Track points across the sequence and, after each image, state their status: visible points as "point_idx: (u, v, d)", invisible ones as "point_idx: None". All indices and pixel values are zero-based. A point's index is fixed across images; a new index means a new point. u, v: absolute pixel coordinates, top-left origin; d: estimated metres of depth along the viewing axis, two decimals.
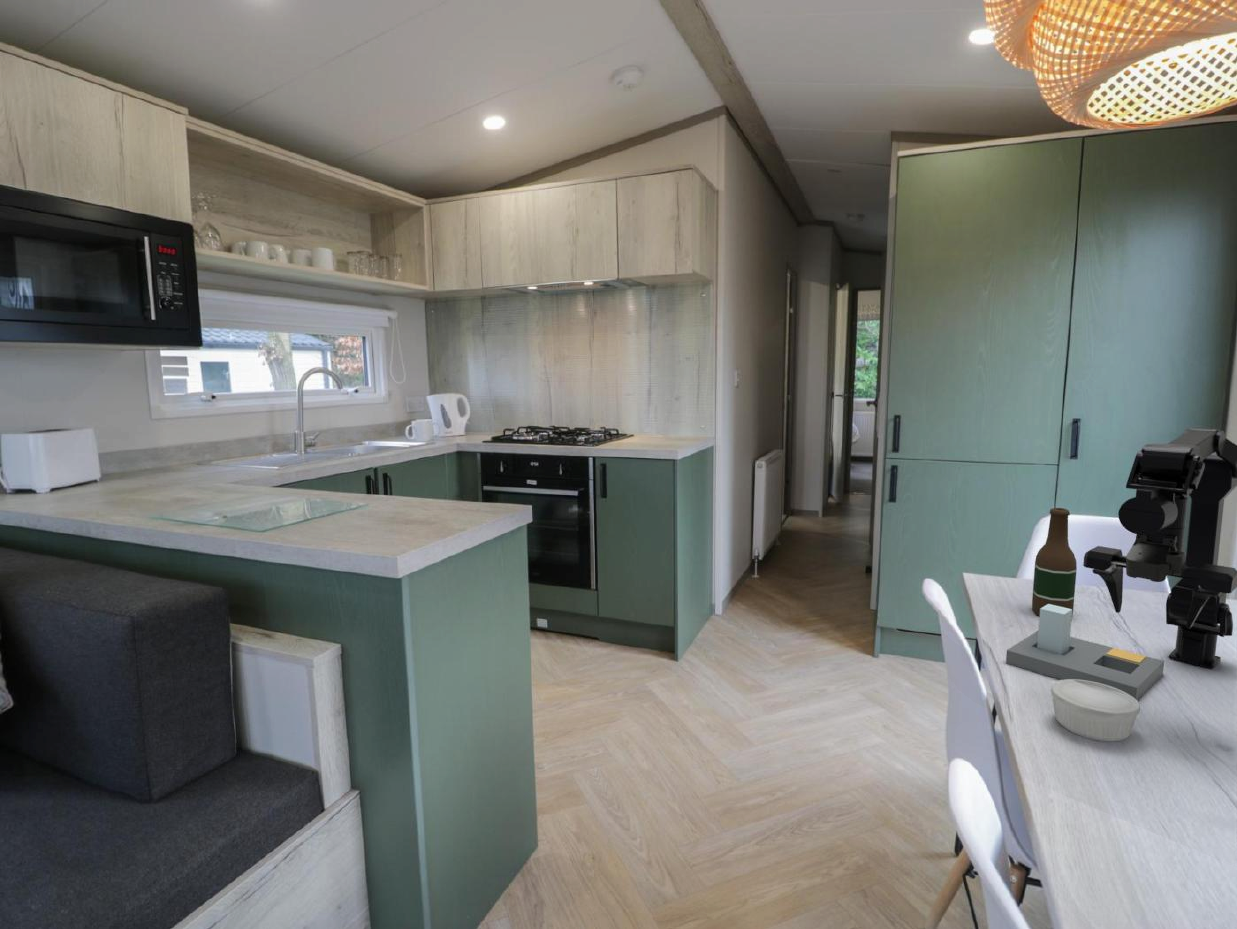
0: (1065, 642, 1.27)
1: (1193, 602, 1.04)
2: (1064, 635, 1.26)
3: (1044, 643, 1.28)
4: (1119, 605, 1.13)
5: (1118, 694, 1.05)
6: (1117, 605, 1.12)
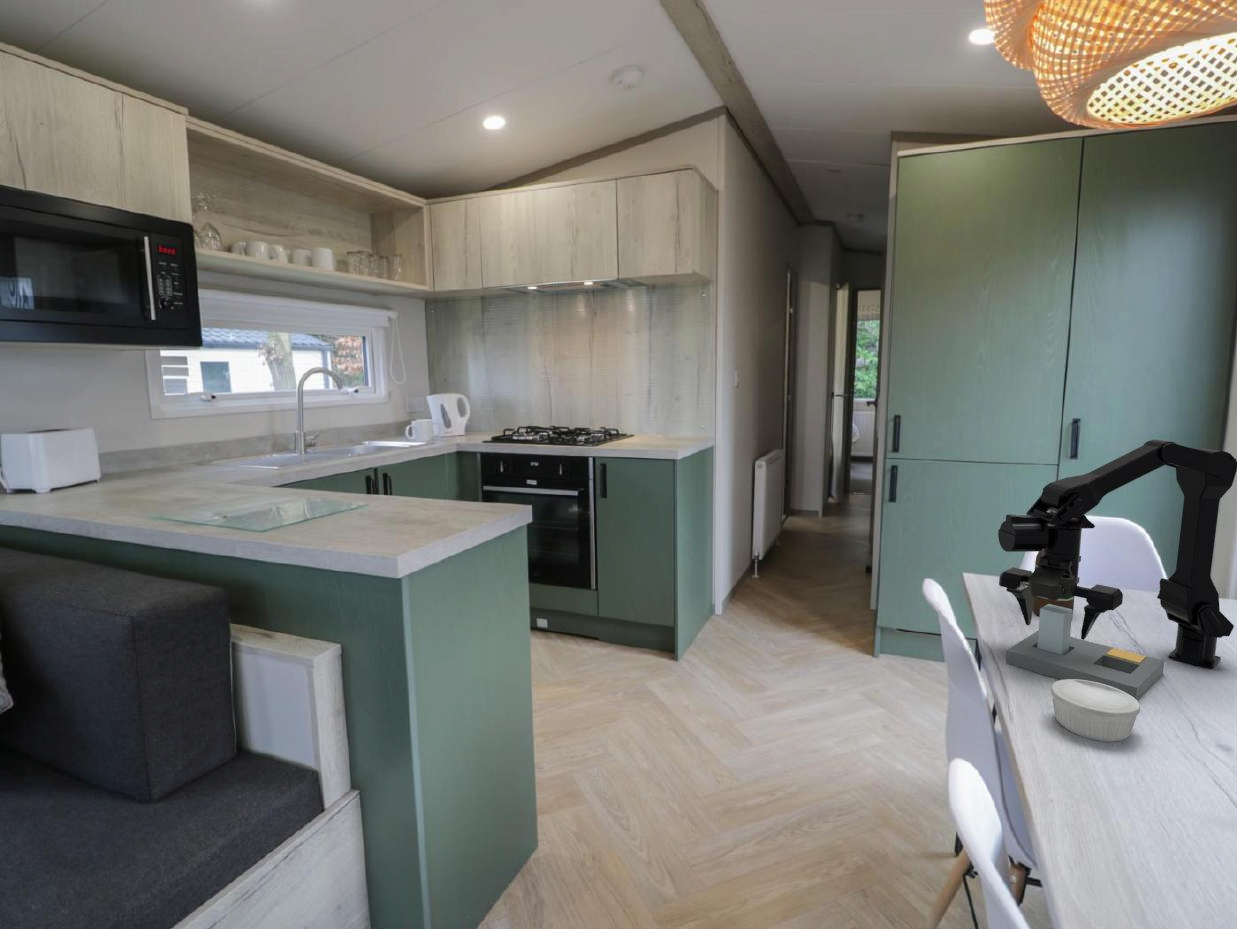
0: (1065, 642, 1.27)
1: (1085, 617, 1.23)
2: (1064, 635, 1.26)
3: (1044, 643, 1.28)
4: (1029, 619, 1.31)
5: (1118, 694, 1.05)
6: (1027, 619, 1.31)
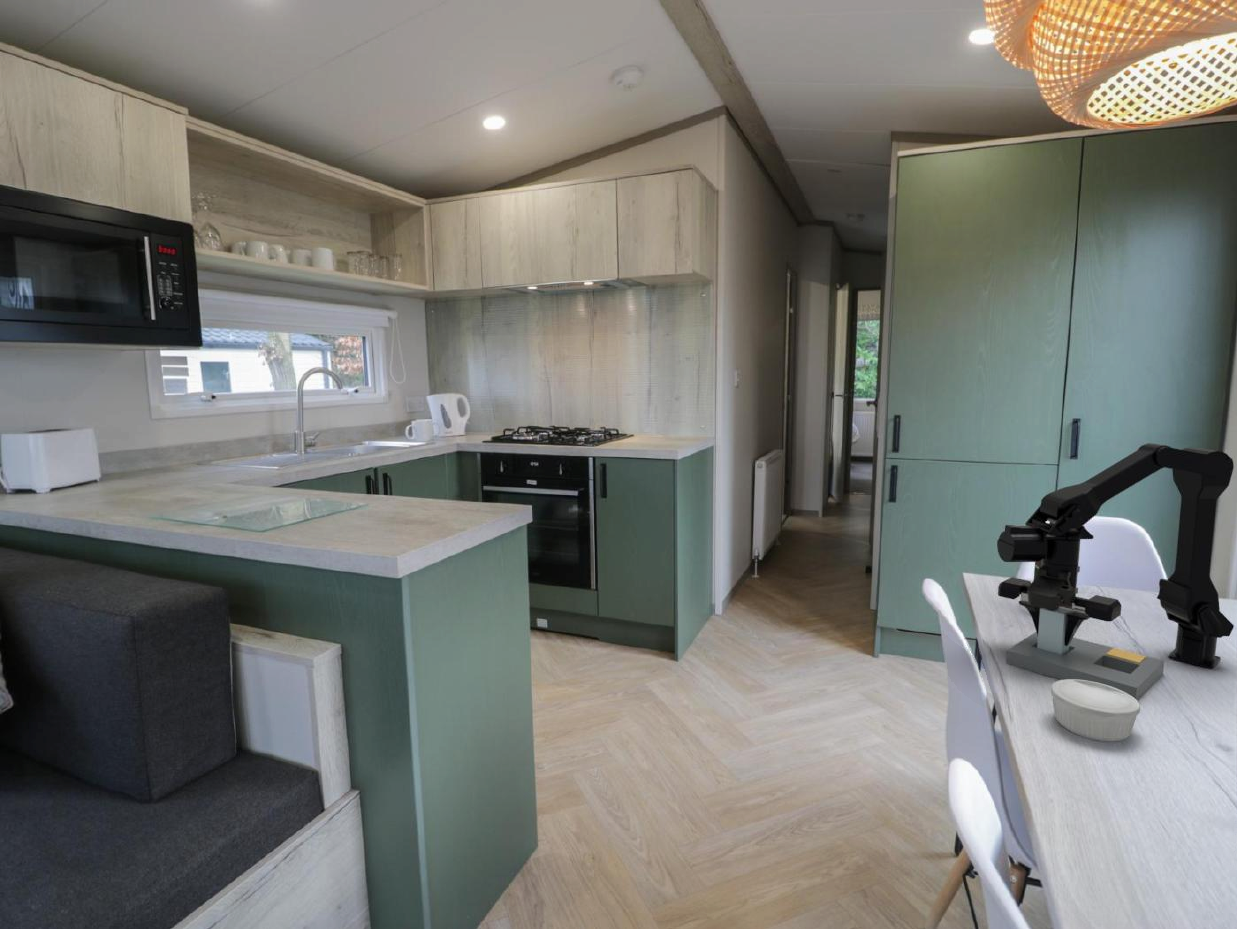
0: None
1: (1068, 624, 1.25)
2: (1064, 635, 1.26)
3: (1044, 643, 1.28)
4: None
5: (1118, 694, 1.05)
6: None
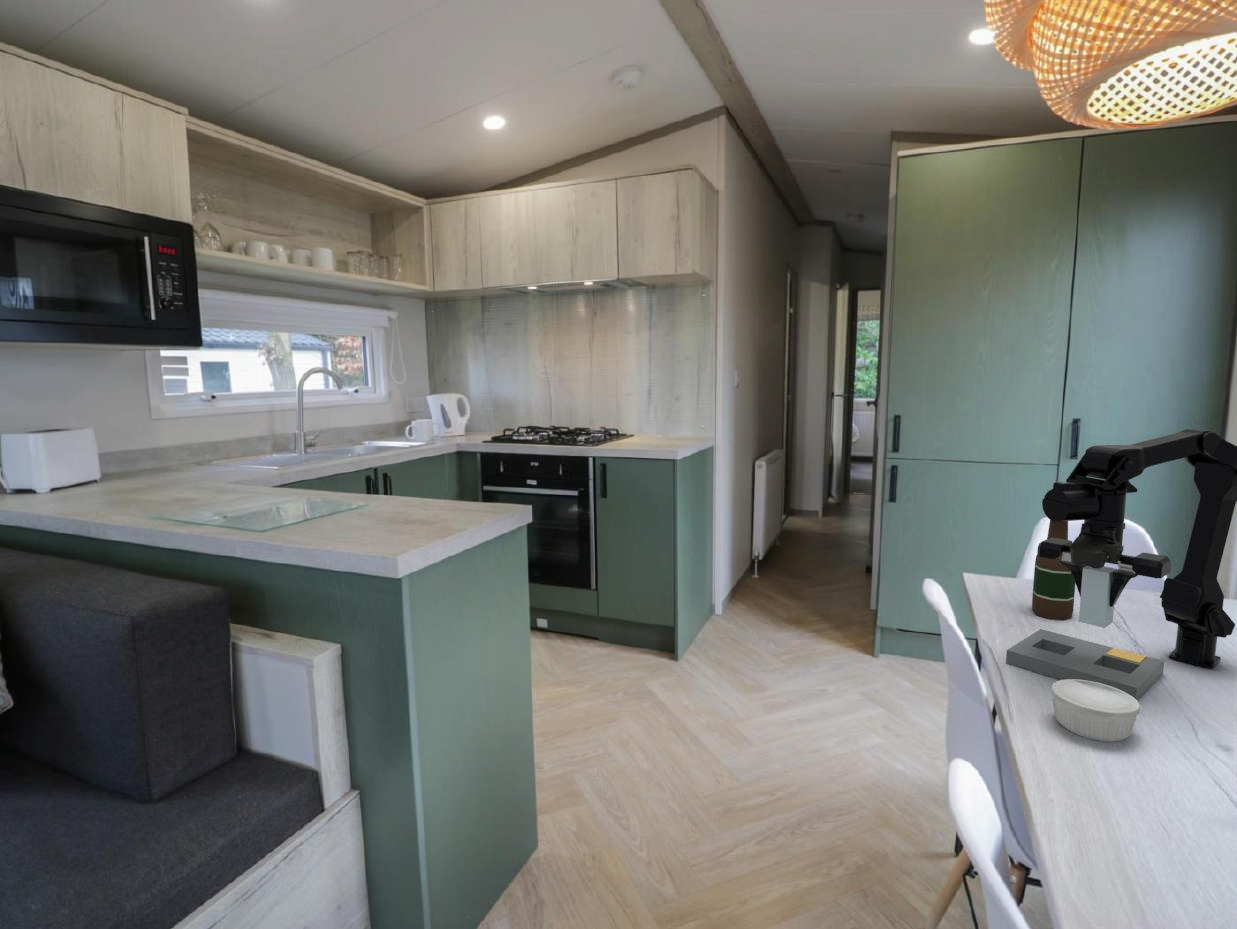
0: None
1: (1114, 583, 1.19)
2: (1109, 595, 1.20)
3: (1087, 604, 1.22)
4: None
5: (1118, 694, 1.05)
6: None
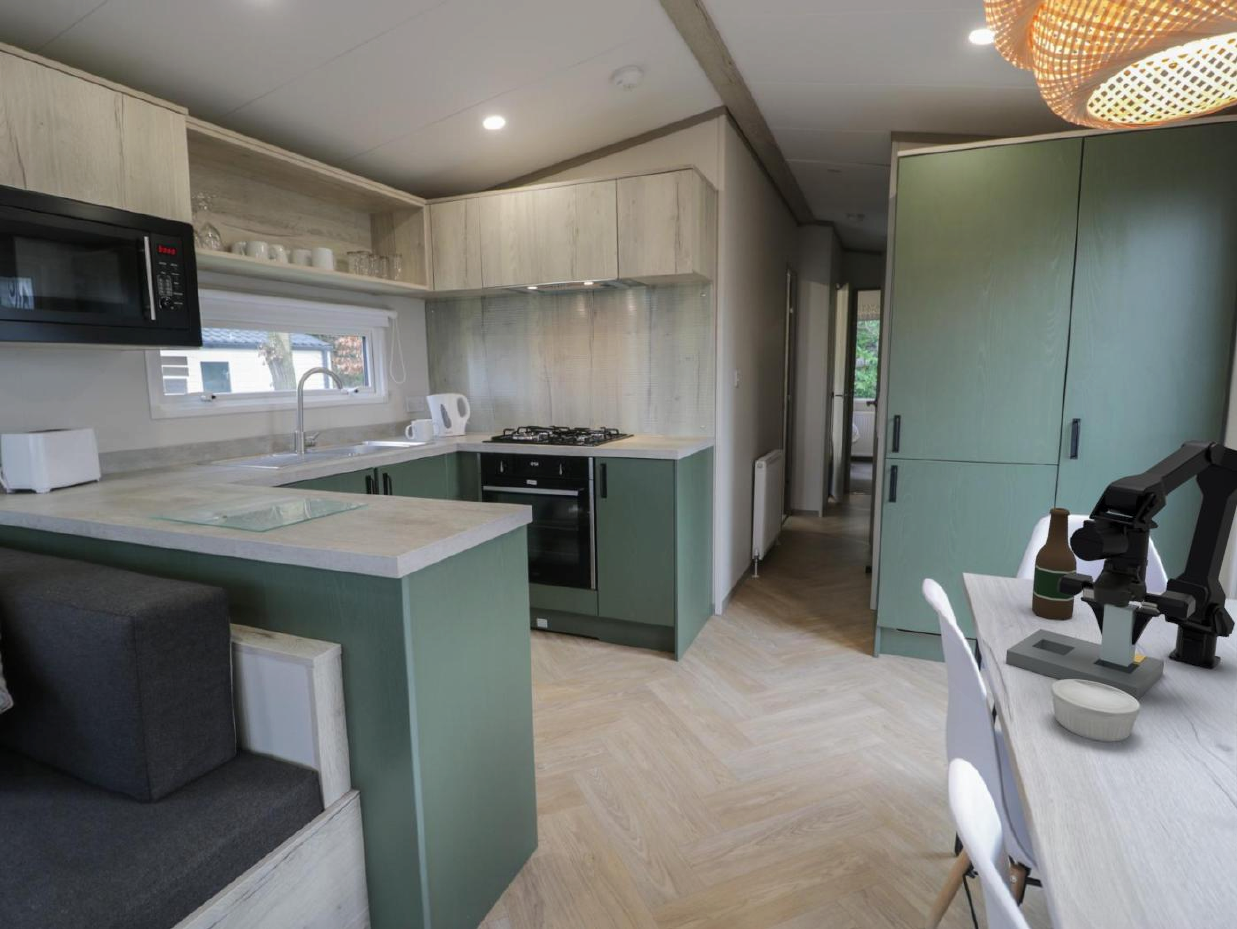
0: None
1: (1137, 622, 1.17)
2: (1132, 633, 1.18)
3: (1109, 642, 1.20)
4: None
5: (1118, 694, 1.05)
6: None
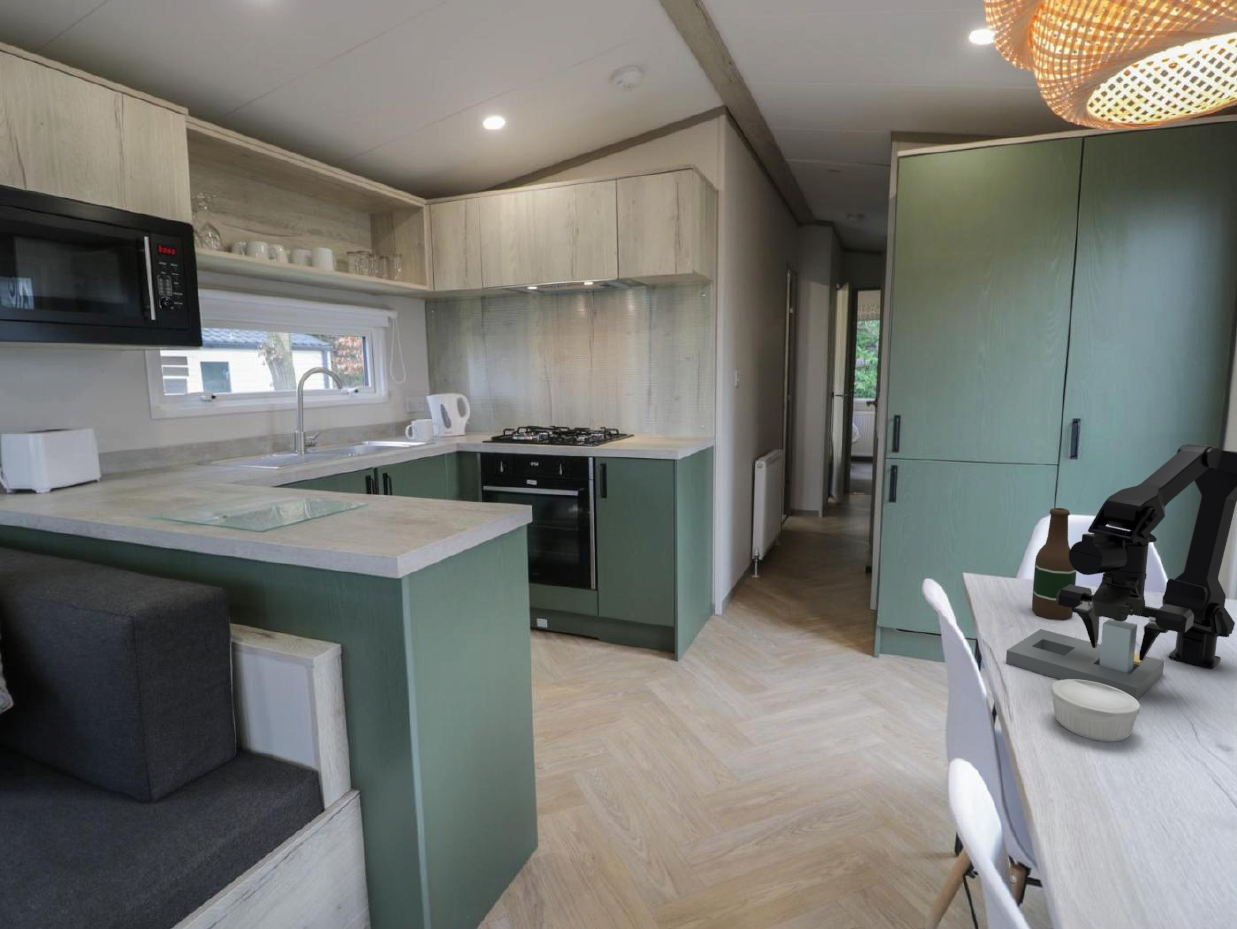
0: (1130, 660, 1.19)
1: (1144, 637, 1.16)
2: (1130, 651, 1.18)
3: (1107, 660, 1.20)
4: (1095, 641, 1.23)
5: (1118, 694, 1.05)
6: (1093, 641, 1.22)
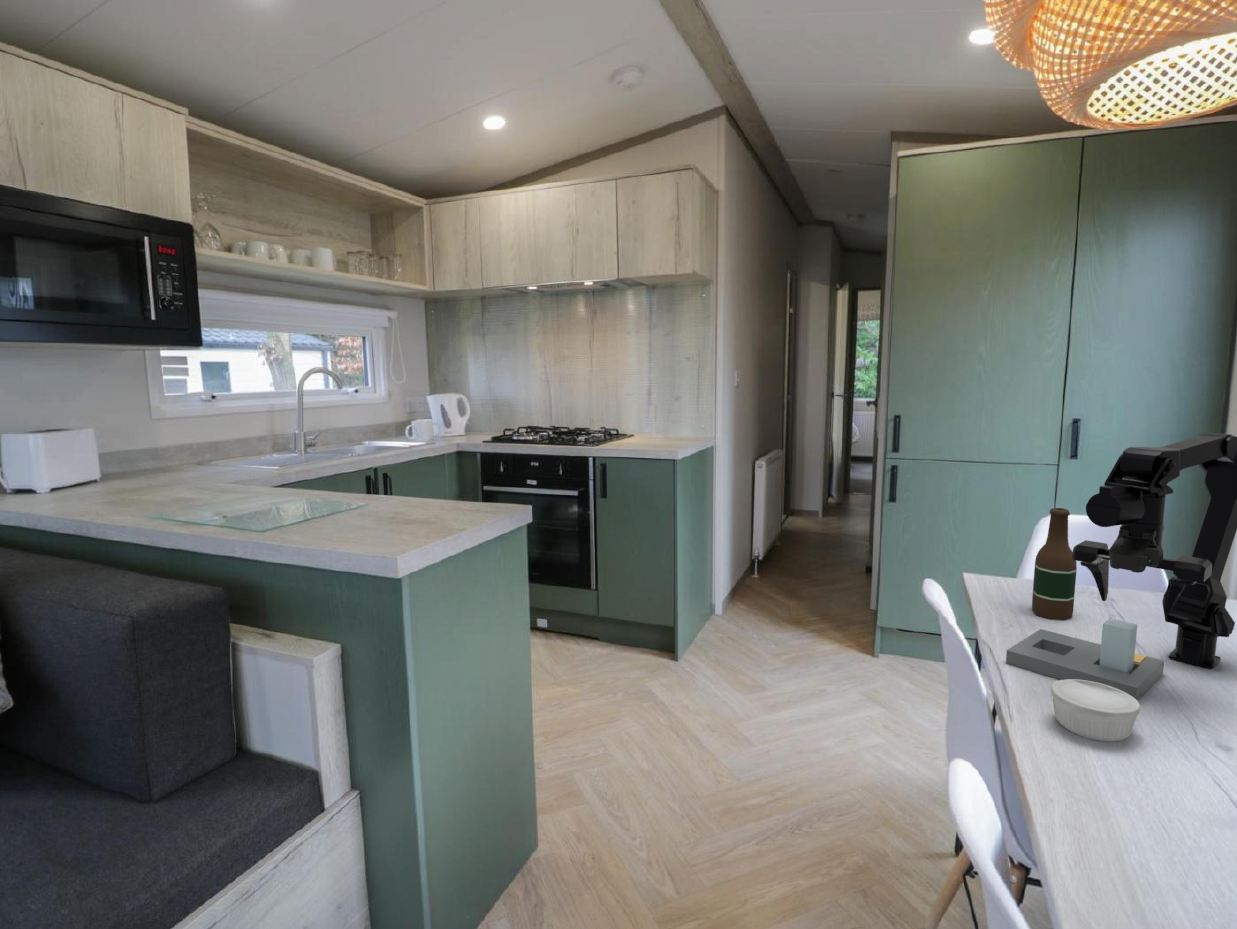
0: (1130, 660, 1.19)
1: (1171, 590, 1.15)
2: (1130, 651, 1.18)
3: (1107, 660, 1.20)
4: (1105, 594, 1.23)
5: (1118, 694, 1.05)
6: (1103, 594, 1.23)
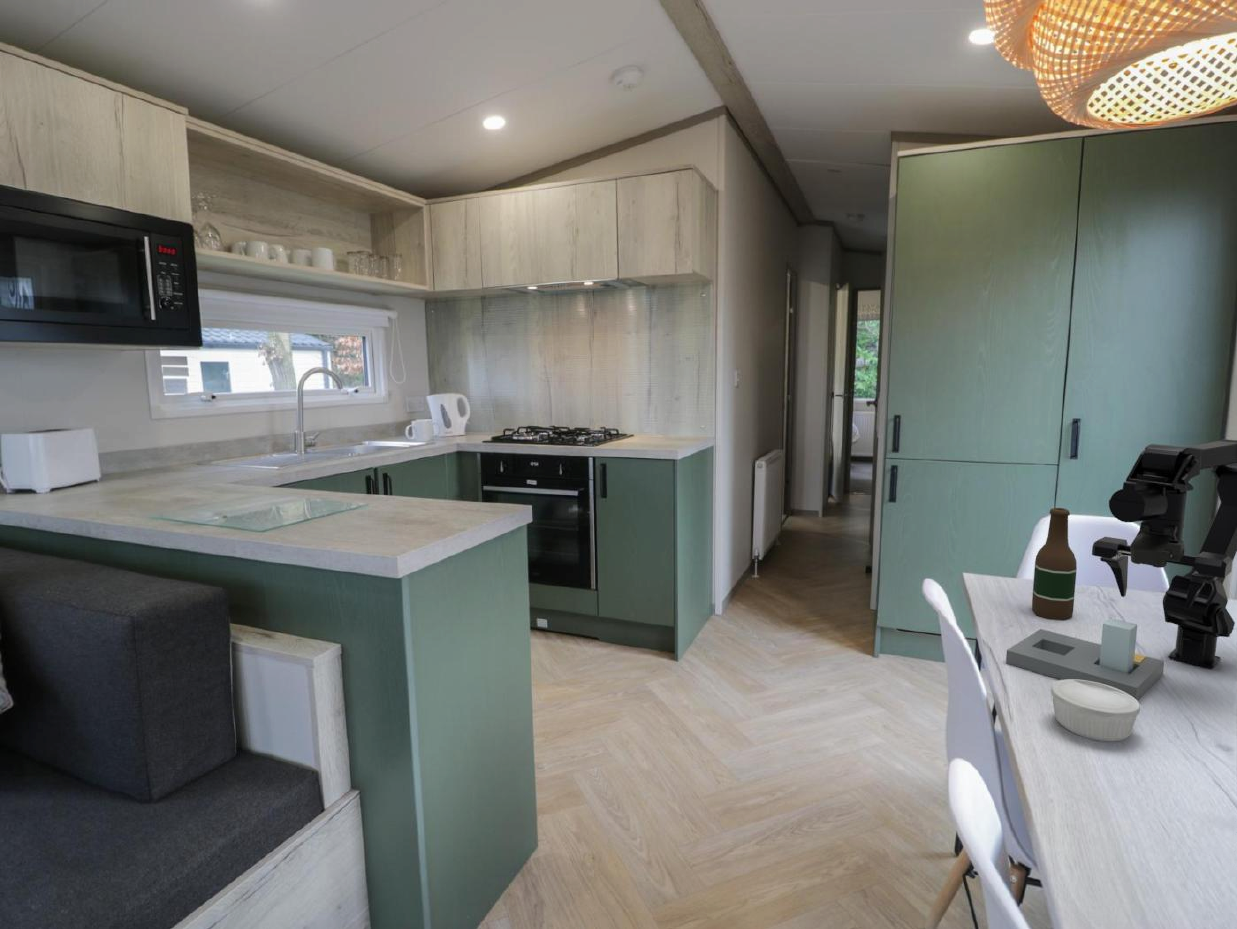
0: (1130, 660, 1.19)
1: (1191, 586, 1.16)
2: (1130, 651, 1.18)
3: (1107, 660, 1.20)
4: (1124, 590, 1.24)
5: (1118, 694, 1.05)
6: (1122, 590, 1.24)
